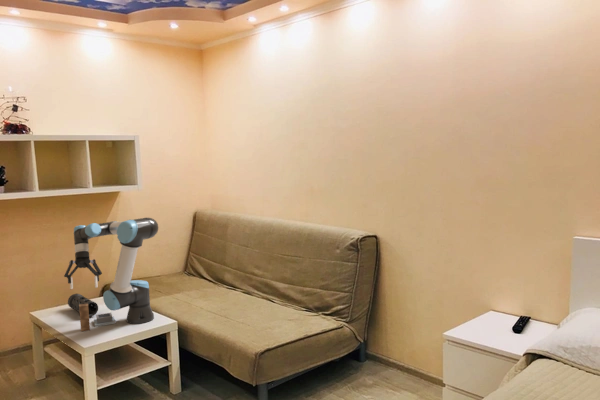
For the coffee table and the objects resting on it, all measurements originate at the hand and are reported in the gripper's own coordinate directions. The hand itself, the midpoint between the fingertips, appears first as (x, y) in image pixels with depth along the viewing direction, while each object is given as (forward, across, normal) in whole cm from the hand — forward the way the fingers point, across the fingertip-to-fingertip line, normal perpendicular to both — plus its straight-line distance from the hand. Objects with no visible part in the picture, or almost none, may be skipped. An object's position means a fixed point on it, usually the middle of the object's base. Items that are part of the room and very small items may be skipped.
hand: (84, 288), depth 282 cm
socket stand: (+20, -11, -3) cm, 23 cm away
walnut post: (+23, +1, +1) cm, 23 cm away
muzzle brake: (+11, -8, -29) cm, 32 cm away
